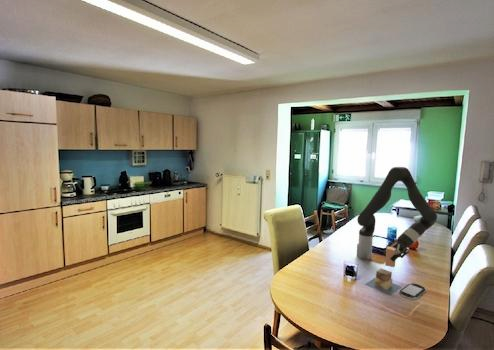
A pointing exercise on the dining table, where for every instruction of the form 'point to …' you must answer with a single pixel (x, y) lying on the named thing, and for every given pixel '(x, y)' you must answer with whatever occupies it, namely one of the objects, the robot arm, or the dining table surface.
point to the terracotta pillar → (389, 253)
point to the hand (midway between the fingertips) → (387, 257)
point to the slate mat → (388, 291)
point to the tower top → (383, 274)
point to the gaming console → (412, 291)
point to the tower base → (383, 283)
